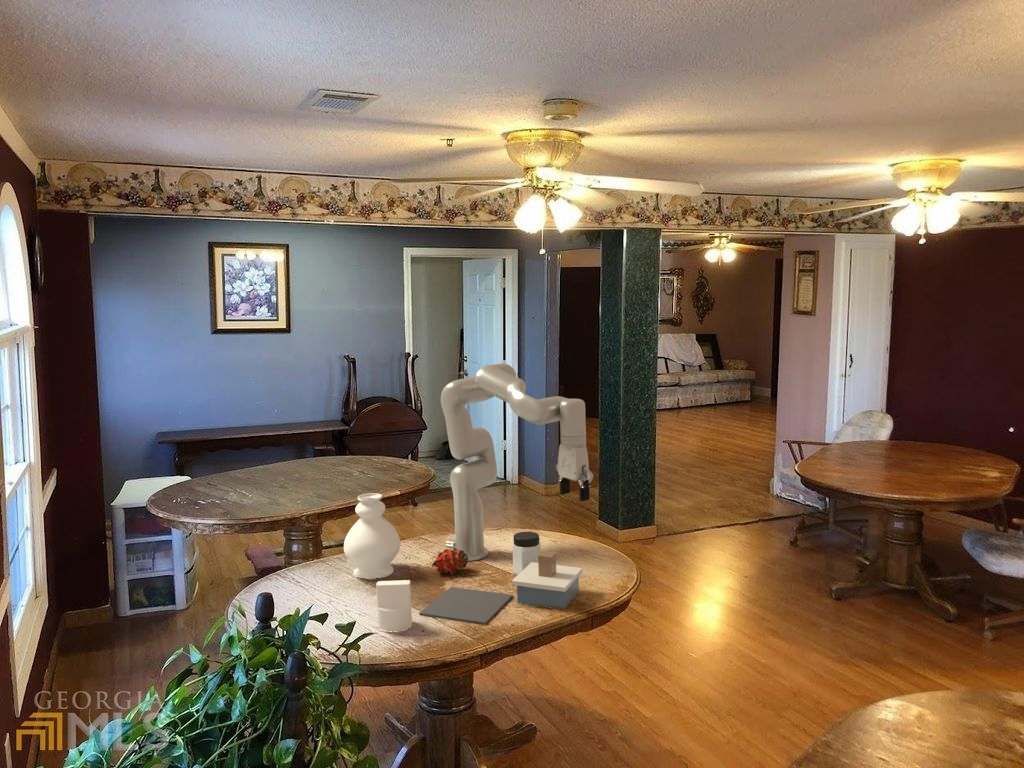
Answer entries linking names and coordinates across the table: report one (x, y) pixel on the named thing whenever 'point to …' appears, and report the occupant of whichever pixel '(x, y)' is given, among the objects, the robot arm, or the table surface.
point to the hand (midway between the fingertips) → (574, 496)
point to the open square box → (547, 596)
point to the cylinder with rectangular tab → (394, 605)
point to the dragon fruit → (450, 561)
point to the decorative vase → (371, 539)
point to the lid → (547, 574)
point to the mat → (467, 605)
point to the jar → (525, 550)
